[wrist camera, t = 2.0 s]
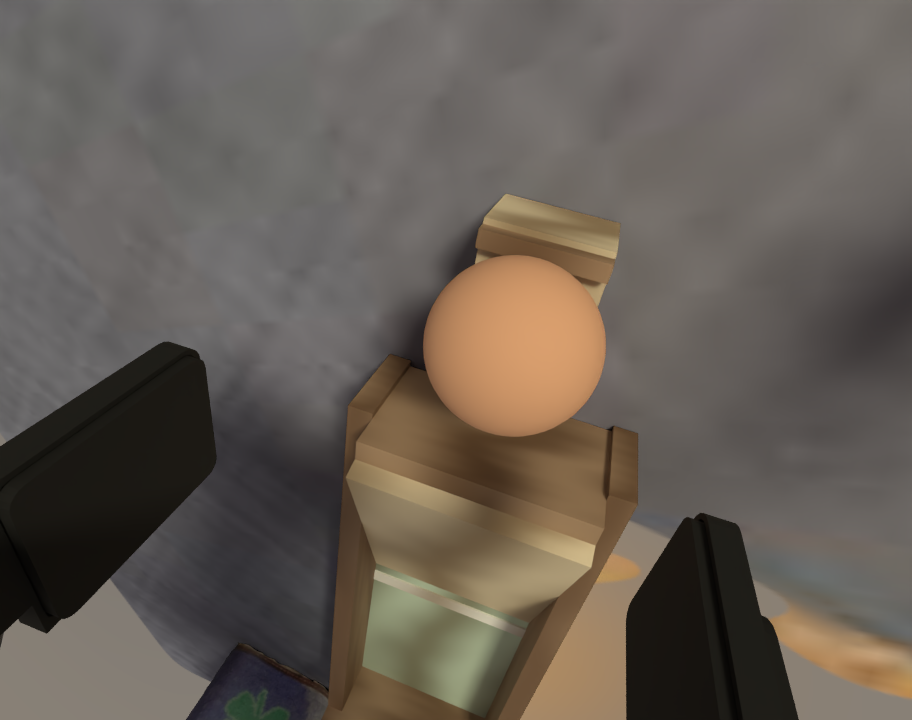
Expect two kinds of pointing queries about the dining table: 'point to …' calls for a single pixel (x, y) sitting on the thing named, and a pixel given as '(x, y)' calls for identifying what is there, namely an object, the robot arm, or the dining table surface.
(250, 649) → the flask
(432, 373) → the ball
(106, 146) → the dining table surface
